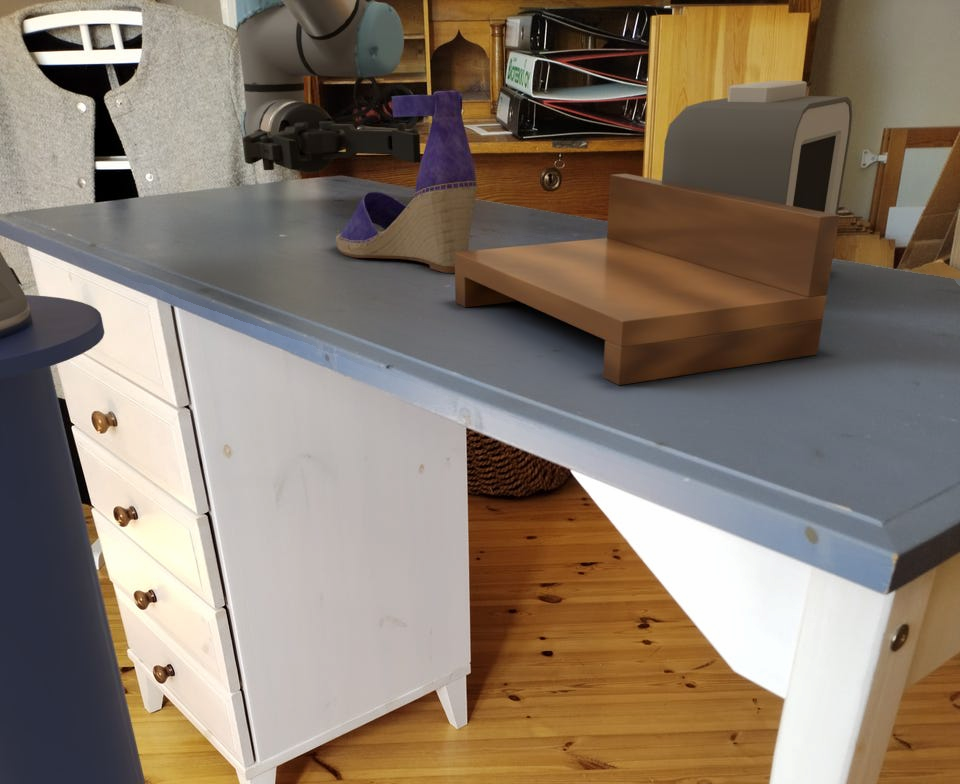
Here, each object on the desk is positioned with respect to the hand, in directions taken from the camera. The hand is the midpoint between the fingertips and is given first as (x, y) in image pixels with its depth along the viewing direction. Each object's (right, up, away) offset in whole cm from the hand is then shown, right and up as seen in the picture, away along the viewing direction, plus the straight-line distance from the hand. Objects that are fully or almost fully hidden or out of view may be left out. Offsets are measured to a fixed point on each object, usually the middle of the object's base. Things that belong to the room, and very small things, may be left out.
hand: (357, 151), depth 107 cm
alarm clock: (+36, -19, -16) cm, 44 cm away
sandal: (+5, -13, -5) cm, 15 cm away
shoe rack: (+24, -27, -29) cm, 46 cm away
